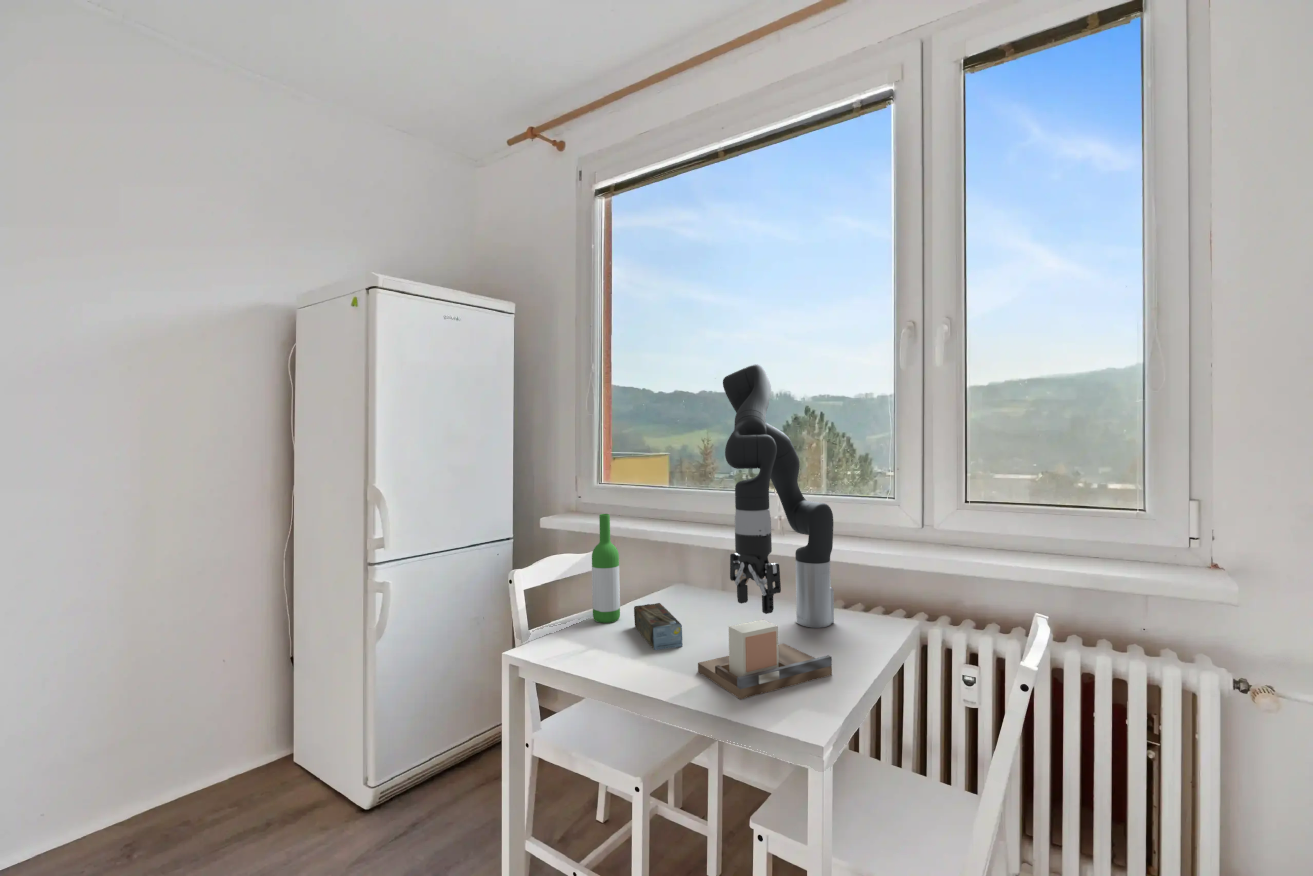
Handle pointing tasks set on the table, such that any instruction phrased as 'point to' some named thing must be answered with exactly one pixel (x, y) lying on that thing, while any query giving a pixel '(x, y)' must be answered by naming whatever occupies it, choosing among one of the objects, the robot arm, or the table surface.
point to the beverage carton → (658, 626)
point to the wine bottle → (605, 576)
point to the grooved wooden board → (768, 673)
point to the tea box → (753, 647)
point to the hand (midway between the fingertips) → (754, 607)
